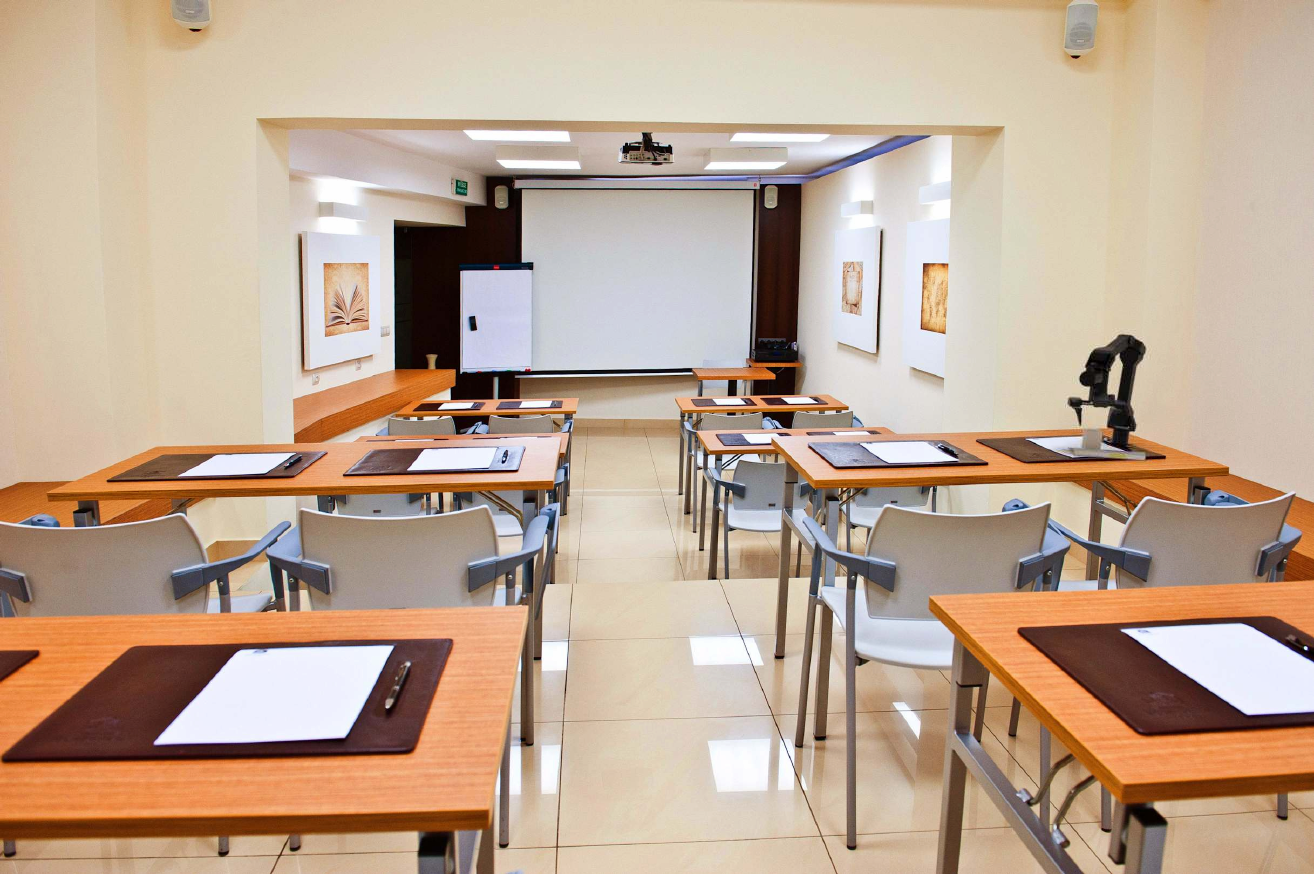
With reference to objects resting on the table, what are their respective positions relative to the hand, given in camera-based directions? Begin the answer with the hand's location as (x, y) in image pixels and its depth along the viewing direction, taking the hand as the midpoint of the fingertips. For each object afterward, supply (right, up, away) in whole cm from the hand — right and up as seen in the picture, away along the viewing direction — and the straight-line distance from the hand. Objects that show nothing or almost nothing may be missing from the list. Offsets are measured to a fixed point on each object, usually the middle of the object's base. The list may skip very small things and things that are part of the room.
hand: (1093, 426), depth 331 cm
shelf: (+3, -11, -1) cm, 11 cm away
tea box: (0, -9, +2) cm, 9 cm away
